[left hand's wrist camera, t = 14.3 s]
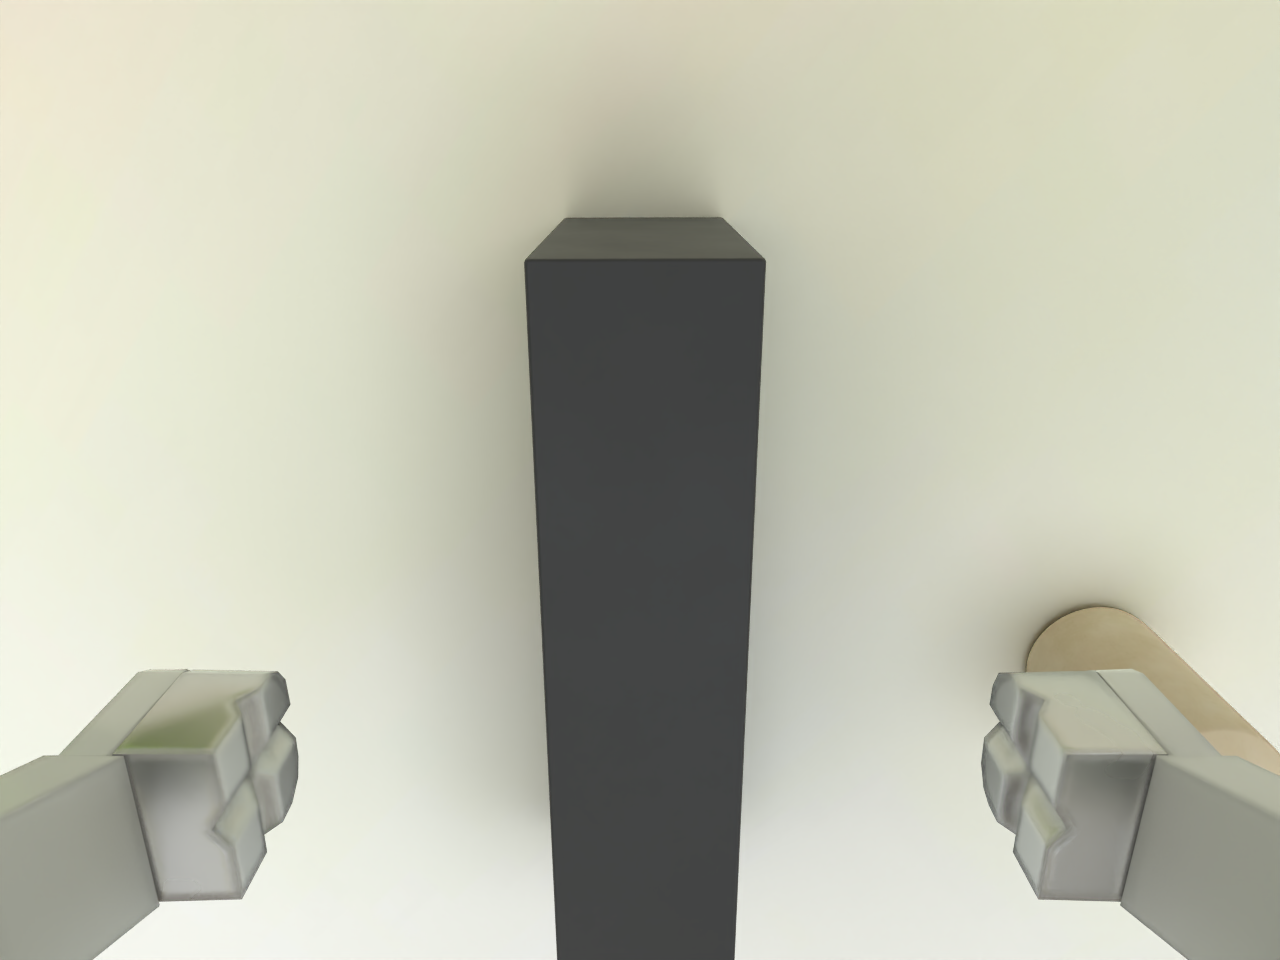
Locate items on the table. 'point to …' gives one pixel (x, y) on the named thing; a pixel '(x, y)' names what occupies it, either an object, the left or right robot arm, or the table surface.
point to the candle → (1149, 675)
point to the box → (645, 573)
